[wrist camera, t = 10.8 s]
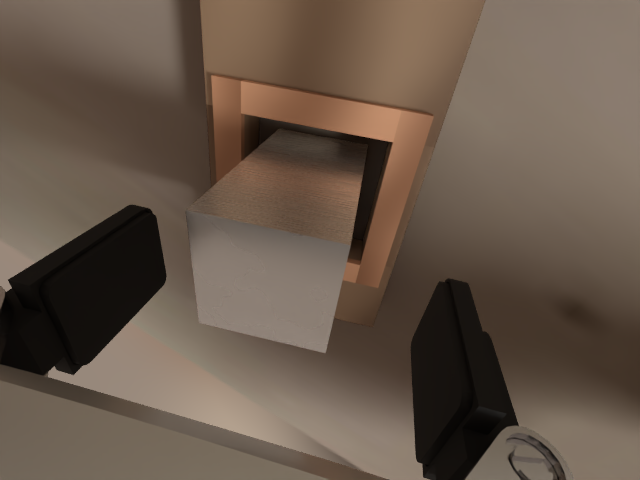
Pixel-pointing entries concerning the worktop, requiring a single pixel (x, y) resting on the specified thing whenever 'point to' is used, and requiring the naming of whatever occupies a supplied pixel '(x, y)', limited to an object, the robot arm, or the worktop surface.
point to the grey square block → (278, 238)
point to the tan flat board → (340, 98)
